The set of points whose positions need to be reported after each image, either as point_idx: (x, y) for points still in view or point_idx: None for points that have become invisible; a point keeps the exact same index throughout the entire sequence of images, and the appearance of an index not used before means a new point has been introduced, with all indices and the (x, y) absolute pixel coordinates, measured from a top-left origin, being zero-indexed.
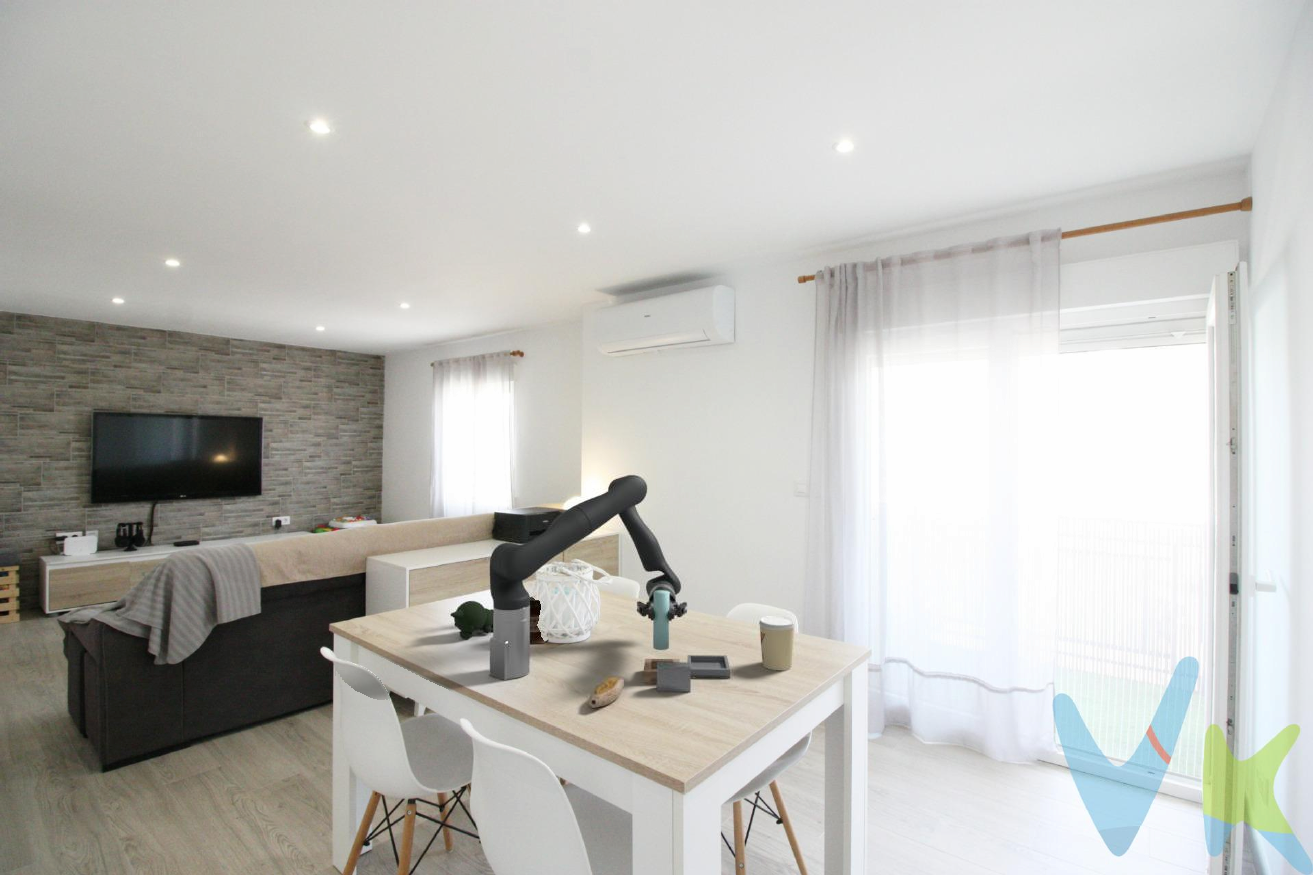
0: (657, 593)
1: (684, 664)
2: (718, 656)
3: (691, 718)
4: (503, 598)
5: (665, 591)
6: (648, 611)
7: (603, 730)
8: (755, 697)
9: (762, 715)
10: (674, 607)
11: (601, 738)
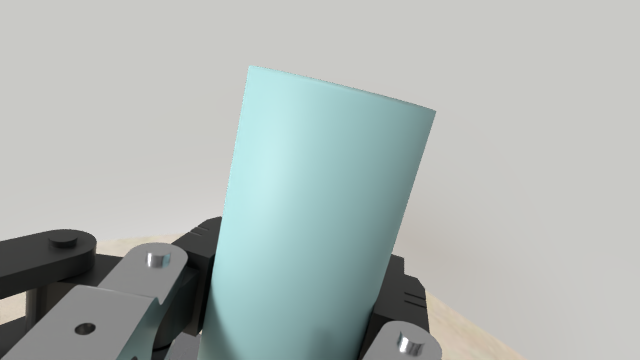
0: (391, 98)
1: (187, 353)
2: None
3: None
4: None
5: (289, 76)
6: (424, 309)
7: (435, 322)
8: (3, 305)
9: (98, 253)
10: (129, 252)
11: (433, 305)
